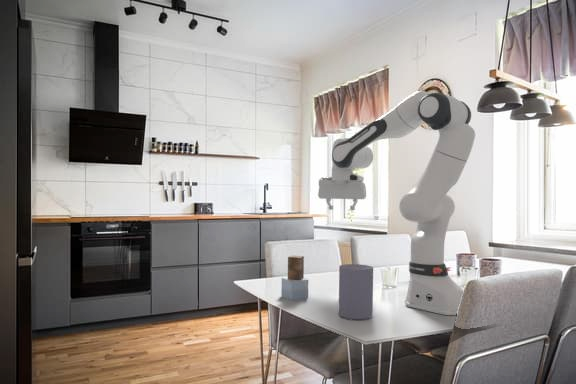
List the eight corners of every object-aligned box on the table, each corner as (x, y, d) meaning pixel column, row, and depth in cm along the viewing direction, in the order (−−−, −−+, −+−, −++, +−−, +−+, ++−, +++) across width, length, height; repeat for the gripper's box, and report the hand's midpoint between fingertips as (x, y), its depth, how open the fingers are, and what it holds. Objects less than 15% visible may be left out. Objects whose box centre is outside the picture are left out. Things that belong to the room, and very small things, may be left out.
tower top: (308, 289, 153) (308, 279, 153) (291, 291, 149) (291, 281, 149) (298, 285, 159) (298, 276, 159) (281, 287, 155) (281, 277, 155)
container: (379, 316, 131) (379, 267, 131) (359, 322, 124) (360, 270, 124) (352, 309, 138) (352, 263, 138) (331, 315, 131) (332, 266, 131)
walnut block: (303, 278, 155) (303, 256, 156) (299, 280, 151) (299, 257, 151) (291, 277, 157) (292, 255, 157) (287, 279, 153) (288, 256, 153)
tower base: (308, 299, 153) (308, 289, 153) (292, 301, 149) (292, 291, 149) (297, 295, 159) (297, 285, 159) (281, 297, 155) (281, 287, 155)
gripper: (316, 176, 181) (315, 209, 180) (363, 176, 172) (363, 210, 172) (321, 177, 186) (320, 209, 186) (367, 177, 178) (367, 210, 178)
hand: (341, 209), depth 179 cm, fingers open, 8 cm apart
